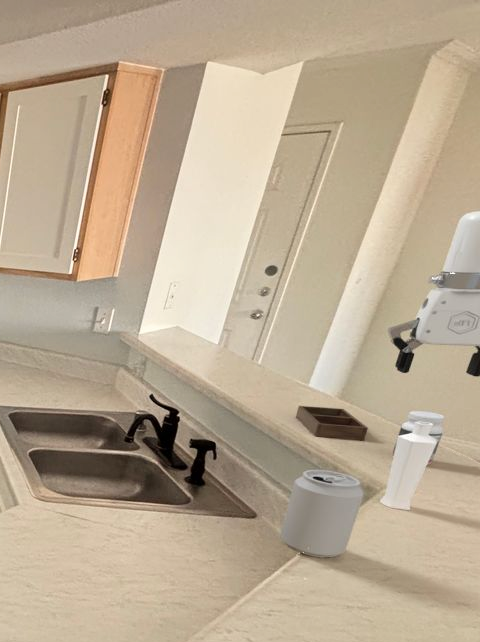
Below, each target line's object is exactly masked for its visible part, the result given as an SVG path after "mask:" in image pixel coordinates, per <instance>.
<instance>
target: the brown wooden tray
mask: <svg viewBox="0 0 480 642" xmlns="http://www.w3.org/2000/svg"><path fill="white" fill-rule="evenodd" d="M295 418H296V419H297V420H298V421H299V422H300V423H301V424H302V425H303V426H304V427H305V428H306V429H307V430H308V431H309V432H310V433H311V434H312V435H313V436H314V437H319V438H330V439H341V440H352V441H353V440H354V441H365V438H366V435H367V432H368V430H369V427H367V426H366V425H365V424H364V423H362V421H360V420H358V419H357V418H356V417H355V416H353V415H352V414H351V413H349V412H348V411H347V410H345V409H344V408H337V407H322V406H321V407H320V406H310V405H309V406H308V405H298V407H297V410H296V414H295Z"/></svg>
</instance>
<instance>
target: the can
mask: <svg viewBox="0 0 480 642" xmlns="http://www.w3.org/2000/svg"><path fill="white" fill-rule="evenodd" d="M361 484H362V483H361V481H360V480H359V479H357V478H356V477H355V476H352V475H350V474H349V475H348V474H346V473H342V472H339V471H338V472H337V471H332V470H325V469H309V470H305V471H303V472H302V476H300V477H298V478H296V479H295V480H294V483H293V485H292V489H291V492H290V493H291V494H290V497H289V501H288V505H287V508H286V511H285V515H284V518H283V522H282V526H281V530H280V533H279V538H280V540H281V541H282V542H283V543H284V544H285V546H287V548H288V549H291V550H293V551H294V552H296V553H299V554H302V553H303V552H304V553H303V555H306V556H309V557H310V556H311V557H314V558H322V559H324V557H330V558H333V557H336V556H339V555H343V554H344V553H345V552H346V550H347V547H348V544H349V542H350V538H351V534H352V533H353V530H354V527H355V526H354V525H355V523H356V521H357V520H356V519H357V516H358V514H359V510H360V507H361V504H362V501H363V498H364V495H365V492H364V491H363V489H362V488H361V487H360V486H361ZM308 548H309V549H308Z"/></svg>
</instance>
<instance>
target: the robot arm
mask: <svg viewBox="0 0 480 642" xmlns="http://www.w3.org/2000/svg"><path fill="white" fill-rule="evenodd" d="M427 283H428V284H433V285H435V287H436V288H431V290H429V293H427V295H426V297H425V299H424V301H423V302H422V303H421V306H420V307H419V310H418V312H417V314H416V316H415V318H414V319H413V320H410V321H406V322H404V323H400V324H397V325H394V326H391V327H388V328H387V330H386V331H387V334H388V336H389V338H390V342H391V343H392V344H393V345H394V346H395V347H396V348H397V350H399V352H398V355H397V358H396V362H395V368H396V370H397V371H398V372H400V373H402V374H407V373H409V372H410V369H411V366H412V364H413V360H414V358H415V353H414V352H413V351H414V350H416V349H417V348H419V347H420V346H422V345H433V346H434V345H437V346H461V347H462V346H467V347H474V348H475V349H476V350H477V351H476V352H474V353H473V354H472V355H471V357H470V360H469V363H468V365H467V368H466V371H465V373H466V374H467V375H470V376H472V377H476V378H477V377H479V378H480V210H479V211H477V210H476V211H471V212H467V213H465V214H464V215H463V216H461V218H459V220H458V223H457V226H456V229H455V231H454V234H453V237H452V240H451V243H450V247H449V249H448V253H447V256H446V258H445V261H444V263H443V268H442V269H441V271H440V272H439V274H437V275H430V276H429V278H428V281H427ZM407 331H410V332H409V338H408V339H407V340H404V339H403V338H402V335H401V334H402V333H403V332H407Z"/></svg>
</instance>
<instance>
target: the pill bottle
mask: <svg viewBox="0 0 480 642" xmlns="http://www.w3.org/2000/svg"><path fill="white" fill-rule="evenodd" d="M407 418H408V421H405V422H403V423H402V424H401V426H400V429H399V432H398V435H397V438H396V441H395V444H394V447H393V450H392V453H391V458H392V459H393V457H394V452H395V448H396V443H397V439H398V436H400V435H405V434H410V433H412V431H413V428H414V425H415V423H414V422H418V421H422V422H428V423H433V426H431V429H430V431H429V434H428V435H430V436H431V437H433V438H435V439H436V440H437V444H436V446H435V448H434V450H433V453H432V455H431V457H430V459H429V461H428V463H427V465H431V464H432V463H433V461H434V458H435V455H436V453H437V450H438V447H439V444H440V441H441V439H442V436H443V433H444V428H443V427H442V426H441V424H442V423H443V422H444V419H445V416H444V415H443V414H440V413H436V412H433V411H432V412H431V411H423V410H412V411H409V413H408V415H407Z"/></svg>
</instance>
